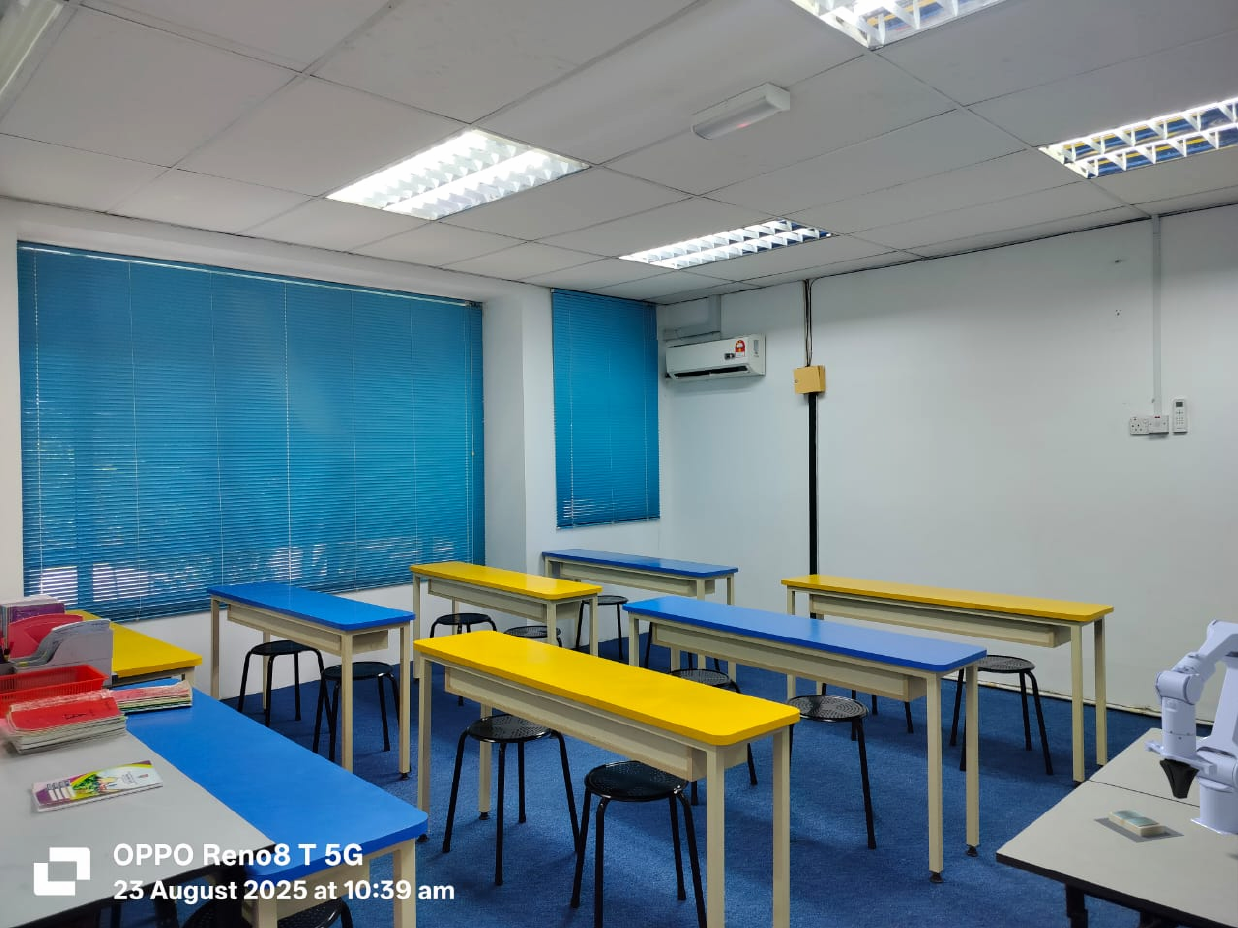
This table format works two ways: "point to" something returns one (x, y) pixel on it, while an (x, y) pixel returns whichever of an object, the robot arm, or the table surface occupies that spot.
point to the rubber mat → (1167, 834)
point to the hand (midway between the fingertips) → (1180, 797)
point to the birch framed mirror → (1136, 822)
